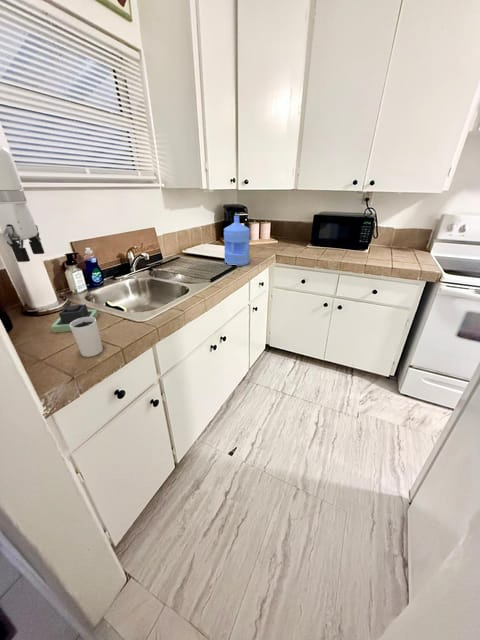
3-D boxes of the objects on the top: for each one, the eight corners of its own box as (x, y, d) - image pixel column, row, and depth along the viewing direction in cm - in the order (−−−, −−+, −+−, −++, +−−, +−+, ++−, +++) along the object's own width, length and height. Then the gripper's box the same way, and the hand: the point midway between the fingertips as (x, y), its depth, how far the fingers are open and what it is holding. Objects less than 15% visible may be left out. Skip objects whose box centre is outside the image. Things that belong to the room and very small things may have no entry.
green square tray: (52, 332, 88) (50, 327, 87) (65, 317, 98) (63, 312, 97) (89, 329, 90) (88, 323, 89) (98, 314, 100) (97, 309, 99)
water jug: (230, 258, 173) (230, 213, 160) (252, 261, 168) (254, 215, 155) (220, 264, 161) (218, 216, 147) (243, 267, 155) (244, 217, 142)
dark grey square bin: (62, 322, 90) (58, 313, 88) (69, 314, 96) (66, 305, 94) (82, 320, 91) (79, 312, 89) (88, 312, 97) (85, 304, 95)
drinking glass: (75, 352, 78) (64, 323, 73) (96, 342, 83) (88, 314, 78) (87, 360, 74) (76, 330, 70) (108, 349, 79) (100, 320, 75)
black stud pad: (59, 327, 90) (54, 313, 87) (68, 316, 97) (63, 303, 94) (85, 324, 91) (81, 311, 89) (92, 314, 98) (88, 301, 96)
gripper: (11, 196, 81) (31, 251, 89) (-27, 199, 66) (2, 265, 74) (38, 196, 82) (56, 250, 90) (6, 199, 67) (31, 264, 75)
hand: (31, 257), depth 82 cm, fingers open, 9 cm apart
